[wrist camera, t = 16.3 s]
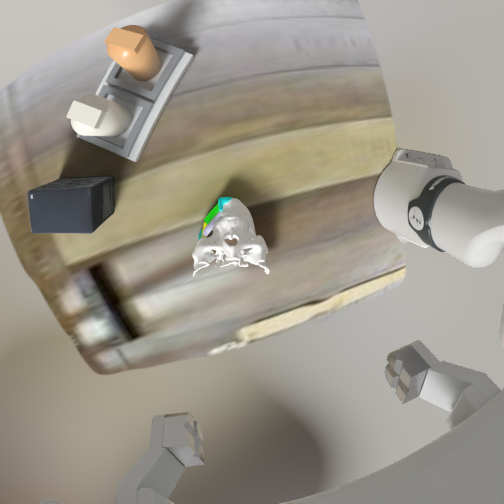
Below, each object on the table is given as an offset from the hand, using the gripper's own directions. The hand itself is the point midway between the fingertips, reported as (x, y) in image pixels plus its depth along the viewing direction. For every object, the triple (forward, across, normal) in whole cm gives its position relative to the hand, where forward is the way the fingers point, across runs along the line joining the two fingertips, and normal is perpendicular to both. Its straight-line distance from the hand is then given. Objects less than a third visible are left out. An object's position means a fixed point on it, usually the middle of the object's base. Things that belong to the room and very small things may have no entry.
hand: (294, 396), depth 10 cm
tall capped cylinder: (+35, +7, -23) cm, 43 cm away
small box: (+37, +22, -7) cm, 44 cm away
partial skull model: (+37, 0, +5) cm, 38 cm away
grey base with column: (+37, +10, -20) cm, 43 cm away
